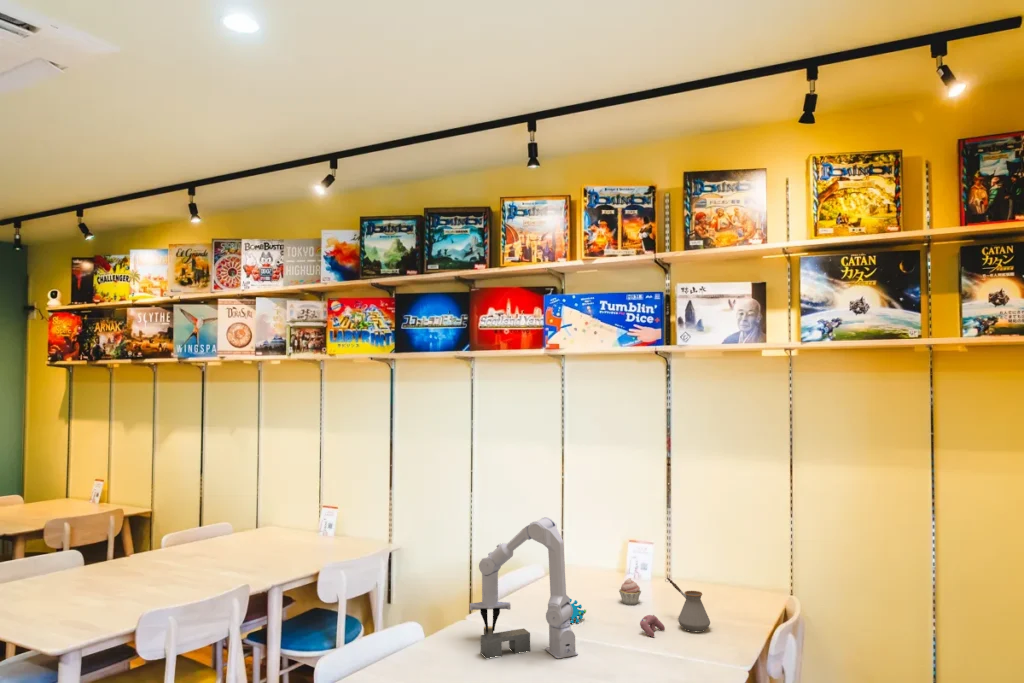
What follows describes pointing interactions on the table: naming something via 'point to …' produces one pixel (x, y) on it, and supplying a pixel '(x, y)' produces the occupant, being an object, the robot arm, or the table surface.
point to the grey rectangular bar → (488, 630)
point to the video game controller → (651, 624)
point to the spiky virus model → (577, 612)
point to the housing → (493, 642)
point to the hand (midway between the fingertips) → (490, 630)
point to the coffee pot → (692, 611)
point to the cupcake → (630, 592)
